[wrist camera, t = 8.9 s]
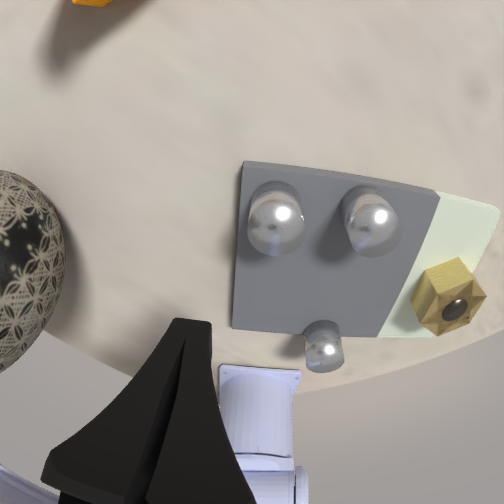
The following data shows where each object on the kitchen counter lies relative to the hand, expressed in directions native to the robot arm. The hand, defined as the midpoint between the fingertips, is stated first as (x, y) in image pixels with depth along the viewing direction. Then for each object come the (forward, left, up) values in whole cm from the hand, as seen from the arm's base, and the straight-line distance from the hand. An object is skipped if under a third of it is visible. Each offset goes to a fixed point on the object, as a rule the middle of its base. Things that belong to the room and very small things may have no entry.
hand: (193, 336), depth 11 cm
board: (-3, -10, -9) cm, 14 cm away
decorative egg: (-1, +15, -10) cm, 18 cm away
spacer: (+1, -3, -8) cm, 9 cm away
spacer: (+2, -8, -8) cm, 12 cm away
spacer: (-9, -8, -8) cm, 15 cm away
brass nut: (-4, -17, -8) cm, 19 cm away
